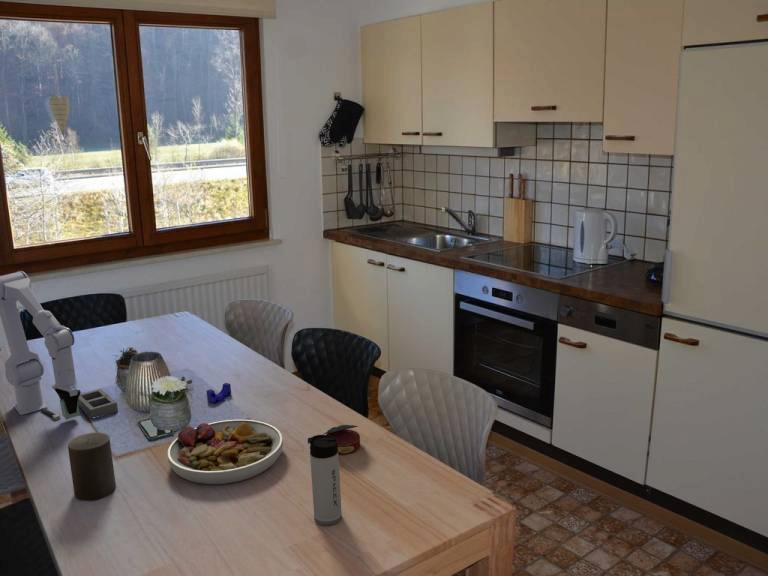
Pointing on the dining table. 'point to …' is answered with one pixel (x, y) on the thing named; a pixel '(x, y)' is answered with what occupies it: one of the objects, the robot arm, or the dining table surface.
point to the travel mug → (325, 479)
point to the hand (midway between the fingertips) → (70, 410)
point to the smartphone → (153, 430)
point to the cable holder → (219, 394)
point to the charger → (65, 412)
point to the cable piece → (51, 414)
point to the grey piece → (97, 403)
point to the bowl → (225, 451)
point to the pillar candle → (91, 466)
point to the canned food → (345, 439)
